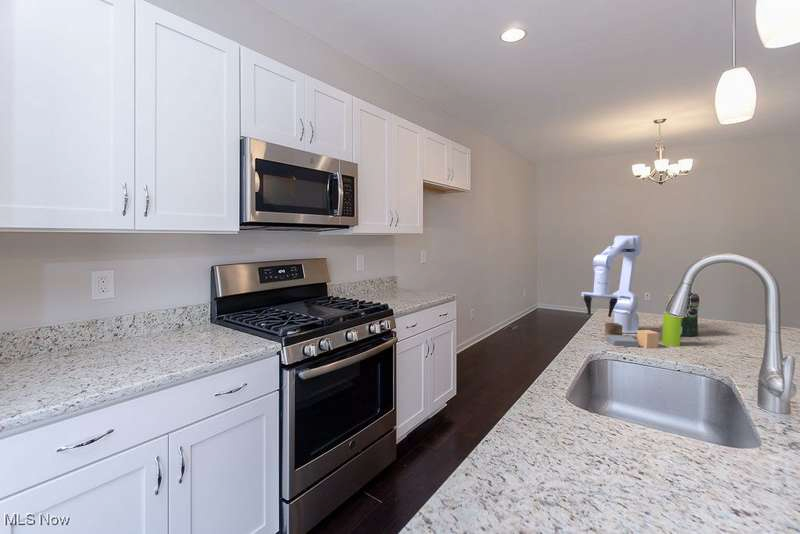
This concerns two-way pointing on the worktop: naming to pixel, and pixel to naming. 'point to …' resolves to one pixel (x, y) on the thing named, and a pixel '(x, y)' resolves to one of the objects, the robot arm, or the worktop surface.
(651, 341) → the orange faceted block
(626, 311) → the robot arm
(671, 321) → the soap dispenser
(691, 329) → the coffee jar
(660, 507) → the worktop surface
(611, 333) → the walnut cube
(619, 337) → the gray slab
